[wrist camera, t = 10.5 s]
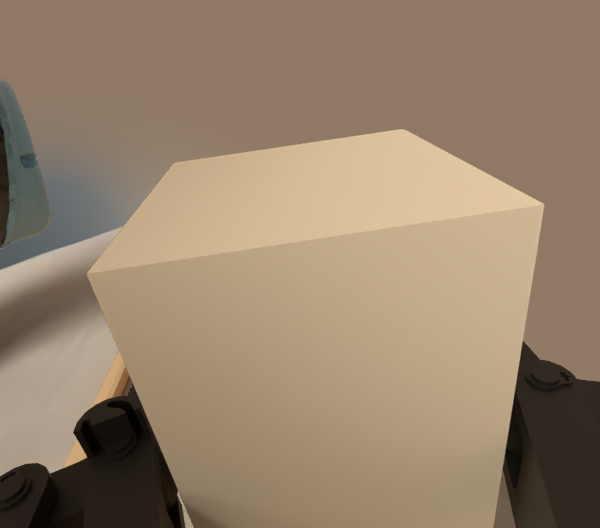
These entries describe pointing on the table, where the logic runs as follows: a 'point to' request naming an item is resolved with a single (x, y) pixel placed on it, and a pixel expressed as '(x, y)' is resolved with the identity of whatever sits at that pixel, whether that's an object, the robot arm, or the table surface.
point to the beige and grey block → (327, 331)
